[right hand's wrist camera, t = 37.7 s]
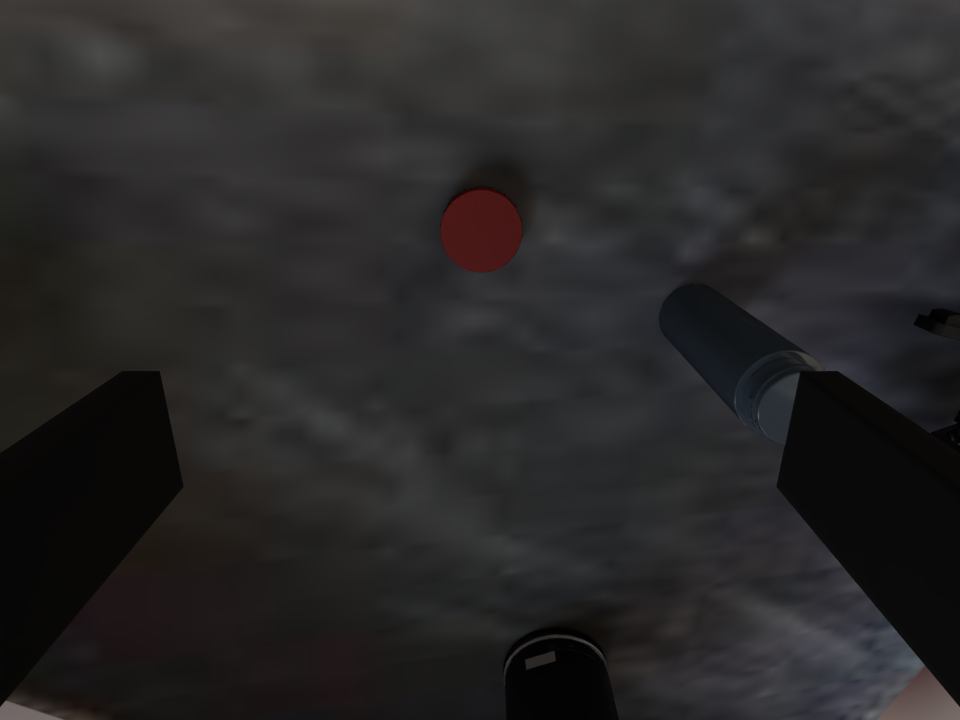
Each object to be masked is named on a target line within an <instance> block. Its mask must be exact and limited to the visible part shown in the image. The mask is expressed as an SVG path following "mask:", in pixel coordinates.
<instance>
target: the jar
mask: <svg viewBox="0 0 960 720" xmlns="http://www.w3.org/2000/svg"><path fill="white" fill-rule="evenodd" d="M659 322H660V327H661V330H662V332H663V334H664V335H665V337H666V338H667V339H668V340H669V341H670V342H671V343H672V345H673V346H674V347H675V348H676V349H677V350H678V351H679V352H680V353H681V355H682V356H683V357H684V358H685V359H686V360H687V361H688V362H689V363H690V365H691V366H692V367H693V368H694V369H695V370H696V371H697V372H698V373H699V375H700V376H701V377H702V378H703V379H704V380H705V381H706V382H707V383H708V385H709V386H710V387H711V388H712V389H713V390H714V391H715V392H716V393H717V395H718V396H719V397H720V398H721V399H722V400H723V401H724V402H725V404H726V405H727V406H728V407H729V408H730V409H731V410H732V411H733V412H734V414H735V415H736V416H737V417H738V418H739V419H740V420H741V421H742V422H743V423H744V424H745V425H746V426H747V427H748V428H750V429H751V430H753V431H756V432H758V433H761V434H762V435H763V436H764V437H765V438H766V439H768V440H770V441H772V442H774V443H778V444H783V445H785V443H786V438H787V433H788V429H789V424H790V419H791V414H792V409H793V404H794V400H795V395H796V390H797V385H798V380H799V375H800V371H825V370H824V368H823V366H822V365H821V364H820V362H819V361H818V360H817V359H815V358H814V357H812V356H811V355H810V354H808V353H807V352H805V351H804V350H802V349H801V348H799V347H798V346H796V345H795V344H793V343H792V342H790V341H789V340H787V339H786V338H785V337H783V336H782V335H780V334H779V333H777V332H776V331H774V330H773V329H771V328H770V327H768V326H767V325H765V324H764V323H762V322H761V321H760V320H758V319H757V318H755V317H754V316H752V315H751V314H749V313H748V312H746V311H745V310H743V309H742V308H740V307H739V306H737V305H736V304H735V303H733V302H732V301H730V300H729V299H727V298H726V297H724V296H723V295H721V294H720V293H718V292H717V291H715V290H714V289H712V288H711V287H709V286H706V285H701V284H691V285H687V286H684V287H681V288H679V289H678V290H676V291H674V292H673V293H672V294H671V295H670V296H669V297H668V298H667V299H666V301H665V302H664V304H663V306H662V308H661V311H660V317H659Z"/></svg>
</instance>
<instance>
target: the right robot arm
mask: <svg viewBox="0 0 960 720" xmlns="http://www.w3.org/2000/svg"><path fill="white" fill-rule="evenodd" d="M182 488H183V482H182V477H181V472H180V467H179V463H178V458H177V453H176V448H175V443H174V438H173V433H172V429H171V424H170V419H169V414H168V409H167V404H166V400H165V395H164V390H163V385H162V380H161V375H160V371H122V372H120V373H119V374H117V375H116V376H114V377H113V378H111V379H110V380H108V381H107V382H106V383H104V384H103V385H101V386H100V387H98V388H97V389H95V390H94V391H92V392H91V393H89V394H88V395H86V396H85V397H83V398H82V399H80V400H79V401H77V402H76V403H74V404H73V405H71V406H70V407H68V408H67V409H65V410H64V411H62V412H61V413H59V414H58V415H56V416H55V417H53V418H52V419H51V420H49V421H48V422H46V423H45V424H43V425H42V426H40V427H39V428H37V429H36V430H34V431H33V432H31V433H30V434H28V435H27V436H25V437H24V438H22V439H21V440H19V441H18V442H16V443H15V444H13V445H12V446H10V447H9V448H7V449H6V450H4V451H3V452H1V453H0V706H1V705H2V704H3V703H4V702H5V701H6V699H7V698H8V697H9V696H10V695H11V693H12V692H13V691H14V690H15V689H16V687H17V686H18V685H19V684H20V683H21V681H22V680H23V679H24V678H25V676H26V675H27V674H28V673H29V672H30V670H31V669H32V668H33V667H34V666H35V664H36V663H37V662H38V661H39V660H40V658H41V657H42V656H43V655H44V654H45V652H46V651H47V650H48V649H49V648H50V646H51V645H52V644H53V643H54V642H55V640H56V639H57V638H58V637H59V636H60V634H61V633H62V632H63V631H64V630H65V628H66V627H67V626H68V625H69V624H70V622H71V621H72V620H73V619H74V618H75V616H76V615H77V614H78V613H79V612H80V610H81V609H82V608H83V607H84V606H85V604H86V603H87V602H88V601H89V600H90V598H91V597H92V596H93V595H94V594H95V592H96V591H97V590H98V589H99V588H100V586H101V585H102V584H103V583H104V582H105V580H106V579H107V578H108V577H109V576H110V574H111V573H112V572H113V571H114V570H115V568H116V567H117V566H118V565H119V564H120V562H121V561H122V560H123V559H124V558H125V556H126V555H127V554H128V553H129V552H130V550H131V549H132V548H133V547H134V546H135V544H136V543H137V542H138V541H139V540H140V538H141V537H142V536H143V535H144V534H145V532H146V531H147V530H148V529H149V528H150V526H151V525H152V524H153V523H154V522H155V520H156V519H157V518H158V517H159V516H160V514H161V513H162V512H163V511H164V510H165V508H166V507H167V506H168V505H169V504H170V502H171V501H172V500H173V499H174V497H175V496H176V495H177V494H178V493H179V491H180V490H181V489H182ZM777 488H778V489H779V490H780V491H781V493H782V494H783V495H784V496H785V497H786V499H787V500H788V501H789V502H790V504H791V505H792V506H793V507H794V508H795V510H796V511H797V512H798V513H799V514H800V516H801V517H802V518H803V519H804V520H805V522H806V523H807V524H808V525H809V526H810V528H811V529H812V530H813V531H814V532H815V534H816V535H817V536H818V537H819V538H820V540H821V541H822V542H823V543H824V544H825V546H826V547H827V548H828V549H829V550H830V552H831V553H832V554H833V555H834V556H835V558H836V559H837V560H838V561H839V562H840V564H841V565H842V566H843V567H844V568H845V570H846V571H847V572H848V573H849V574H850V576H851V577H852V578H853V579H854V580H855V582H856V583H857V584H858V585H859V586H860V588H861V589H862V590H863V591H864V592H865V594H866V595H867V596H868V597H869V598H870V600H871V601H872V602H873V603H874V604H875V606H876V607H877V608H878V609H879V610H880V612H881V613H882V614H883V615H884V616H885V618H886V619H887V620H888V621H889V622H890V624H891V625H892V626H893V627H894V628H895V630H896V631H897V632H898V633H899V634H900V636H901V637H902V638H903V639H904V640H905V642H906V643H907V644H908V645H909V646H910V648H911V649H912V650H913V651H914V652H915V654H916V655H917V656H918V657H919V658H920V660H921V661H922V662H923V663H924V664H925V666H926V667H927V668H928V669H929V670H930V672H931V673H932V674H933V675H934V676H935V678H936V679H937V680H938V681H939V683H940V684H941V685H942V686H943V687H944V689H945V690H946V691H947V692H948V693H949V695H950V696H951V697H952V698H953V699H954V701H955V702H956V703H957V704H958V705H959V706H960V453H959V452H957V451H956V450H954V449H953V448H951V447H950V446H948V445H947V444H945V443H944V442H942V441H941V440H939V439H938V438H936V437H935V436H933V435H932V434H930V433H929V432H927V431H926V430H924V429H923V428H921V427H920V426H918V425H917V424H915V423H914V422H912V421H911V420H909V419H908V418H907V417H905V416H904V415H902V414H901V413H899V412H898V411H896V410H895V409H893V408H892V407H890V406H889V405H887V404H886V403H884V402H883V401H881V400H880V399H878V398H877V397H875V396H874V395H872V394H871V393H869V392H868V391H866V390H865V389H863V388H862V387H860V386H859V385H857V384H856V383H854V382H853V381H852V380H850V379H849V378H847V377H846V376H844V375H843V374H841V373H840V372H838V371H800V375H799V380H798V385H797V390H796V395H795V400H794V404H793V409H792V414H791V419H790V424H789V429H788V433H787V438H786V443H785V448H784V453H783V458H782V463H781V467H780V472H779V477H778V482H777Z"/></svg>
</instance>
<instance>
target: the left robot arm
mask: <svg viewBox="0 0 960 720" xmlns="http://www.w3.org/2000/svg"><path fill="white" fill-rule="evenodd" d="M914 325H916V326H918V327H920V328H922V329H925V330H927V331H929V332H931V333H934V334H937V335H940V336H944V337H948V338H952V339H956V340H960V313H957V312H953V311H950V310H946V309H942V308H940V309H932V311H931V313H930V315H929V316H925V315H921V314H919V315H918V317H917V319H916V321H915V322H914ZM954 421H956V422H957V424H954V425H951V426H948V427H945V428H942V429H940V430H937V431H934V432H931V433H930V434H932V435H933V436H935V437H936V438H938V439H939V440H941V441H942V442H944V443H945V444H947V445H948V446H950V447H951V448H953V449H954V450H956V451H957V452H959V453H960V445H958V443H960V411H959V412H958V414H957V416H956V417H955V419H954ZM503 676H504V685H505V695H506V720H619V718H618V714H617V710H616V705H615V701H614V696H613V692H612V688H611V684H610V679H609V671H608V666H607V662H606V658H605V655H604V653H603V651H602V649H601V648H600V647H599V645H598V644H597V643H596V642H594V641H593V640H592V639H590V638H589V637H587V636H585V635H583V634H581V633H578V632H575V631H571V630H564V629H550V630H544V631H539V632H536V633H533V634H531V635H529V636H527V637H525V638H523V639H521V640H520V641H519V642H517V643H516V644H515V645H514V646H513V647H512V648H511V650H510V651H509V652H508V654H507V656H506V658H505V661H504V666H503Z"/></svg>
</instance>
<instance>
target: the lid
mask: <svg viewBox="0 0 960 720" xmlns="http://www.w3.org/2000/svg"><path fill="white" fill-rule="evenodd" d="M516 208H517V207H516V205H515V204H513V203H512V202H511V201H510V199H509V198H508V197H507V196H506V194H502V193H501V192H499V191H497V190H494V189H493V188H486V187H479V186H477V187H476V188H471V189H468V190H464V191H463V192H462V193H460V194H459V195H457V196H456V197H455V198H452V200H451V202H450V204H449V205H448V207H447V209H445V210H444V212H443V213H444V215H443V218H442V222H441V224H440V228H441V230H440V232H441V242H442V244H443V247H444V249H445V251H446V253H447V255H448V256H449V257H450V258H451V259H452V260H453V261H454V262H455V263H456V264H457V265H459V266H460V267H462V268H464V269H466V270H469V271H473V272H489V271H493V270H496V269H498V268H501V267H502V266H504V265H505V264H507V263H508V262H509V261H510V260H511V259H512V258H513V256H514V255H515V254H516V252H517V250H518V249H519V246H520V243H521V238H522V236H523V234H522V224H521V222H522V219H521V217H520V216H519V214H518V212H517V210H516Z"/></svg>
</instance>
